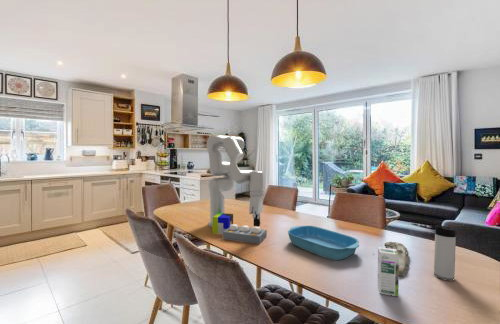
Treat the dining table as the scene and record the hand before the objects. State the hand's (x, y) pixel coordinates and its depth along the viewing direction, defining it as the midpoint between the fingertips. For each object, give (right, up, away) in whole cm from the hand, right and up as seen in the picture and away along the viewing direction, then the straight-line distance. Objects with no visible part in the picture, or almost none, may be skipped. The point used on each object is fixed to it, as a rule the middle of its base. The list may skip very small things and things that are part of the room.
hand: (256, 225), depth 137 cm
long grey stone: (+62, -9, -26) cm, 68 cm away
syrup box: (+44, -10, -51) cm, 68 cm away
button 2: (0, -5, 0) cm, 5 cm away
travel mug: (+72, -9, -41) cm, 83 cm away
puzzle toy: (-20, -8, +15) cm, 26 cm away
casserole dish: (+32, -9, -12) cm, 36 cm away
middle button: (-7, -5, +3) cm, 9 cm away
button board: (-7, -8, +3) cm, 11 cm away
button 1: (-13, -5, +5) cm, 15 cm away
